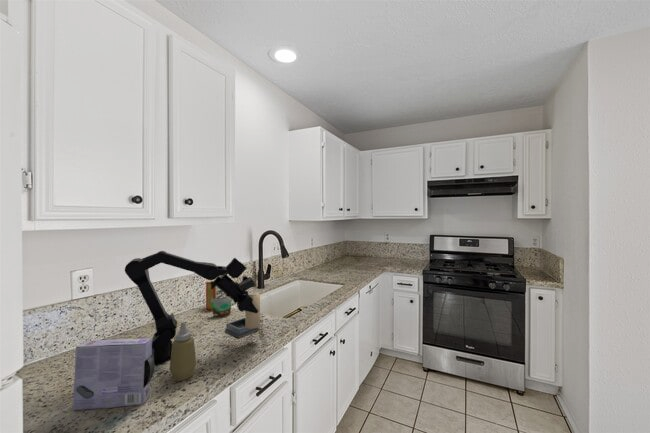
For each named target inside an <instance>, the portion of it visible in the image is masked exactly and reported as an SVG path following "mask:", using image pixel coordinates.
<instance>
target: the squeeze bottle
mask: <svg viewBox="0 0 650 433" xmlns="http://www.w3.org/2000/svg"><path fill="white" fill-rule="evenodd" d="M174 337H175V338H174V340H173V341H172V351H171V360H169V361H170V362H169V371H170V373H171V374H170V375H171V376H172V378H173V379H174V381H178V382H179V381H185V380H186V379H187V380H188V379H190V378H191V377H192V376H193V375H194V371H195V368H196V365H197V356H196V348H195V347H196V346H195V338H193V337H192V332H191V331H190V330H188V328H187V325H186V321H182V322H180V327H179V332H176V334H175V336H174Z"/></svg>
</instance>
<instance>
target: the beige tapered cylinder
mask: <svg viewBox="0 0 650 433" xmlns="http://www.w3.org/2000/svg"><path fill="white" fill-rule="evenodd" d="M248 294H249V295H250V296H251V297H252V298H253V301H252V303H253V305H254V306H255V307H256V309H257V310H258V313H253V312H249V311H244V312H245V314H244V315H245V317H244V318H245V327H246V328H248V329H254V328H260V326H261V294H260V293H257V292H256V293H255V292H254V293H248Z"/></svg>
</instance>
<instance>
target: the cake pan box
mask: <svg viewBox="0 0 650 433" xmlns="http://www.w3.org/2000/svg"><path fill="white" fill-rule="evenodd" d="M152 339H153V337H152V338H151V337H149V338H128V339H127V338H124V339H123V338H122V339H101V340H97V339H96V340H95V339H93V340H91V339H90V340H85V341H83V342H81V343H80V344H78V345H76V347H75V358H74V359H75V360H74V361H75V362H74V377H73V378H74V380H73V400H72V401H73V402H72V411H74V412H75V411H80V410H92V409H93V410H95V409H99V410H101V409H113V408H118V407H126V406H143V405H144V404H145V403H146V401H147V400H148V399H149V398H150V396H151V382H152V379H153V376H154V373H155V366H156V365H155V364H154V359H153V356H152Z"/></svg>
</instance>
